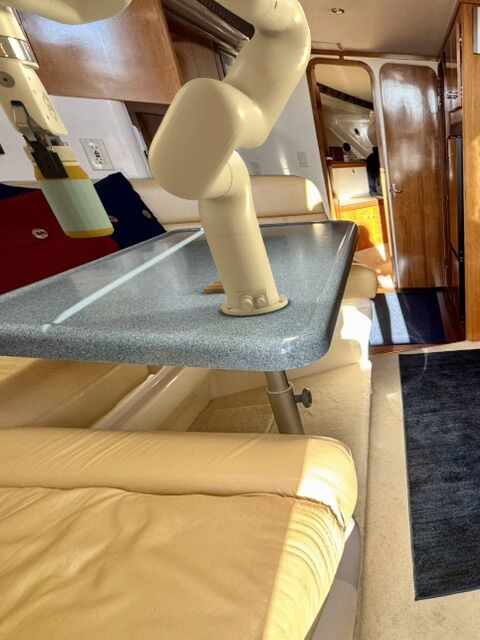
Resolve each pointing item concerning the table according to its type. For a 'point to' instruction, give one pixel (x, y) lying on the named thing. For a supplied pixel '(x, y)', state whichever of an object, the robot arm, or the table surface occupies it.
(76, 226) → the bottle
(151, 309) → the table surface
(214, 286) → the trivet
